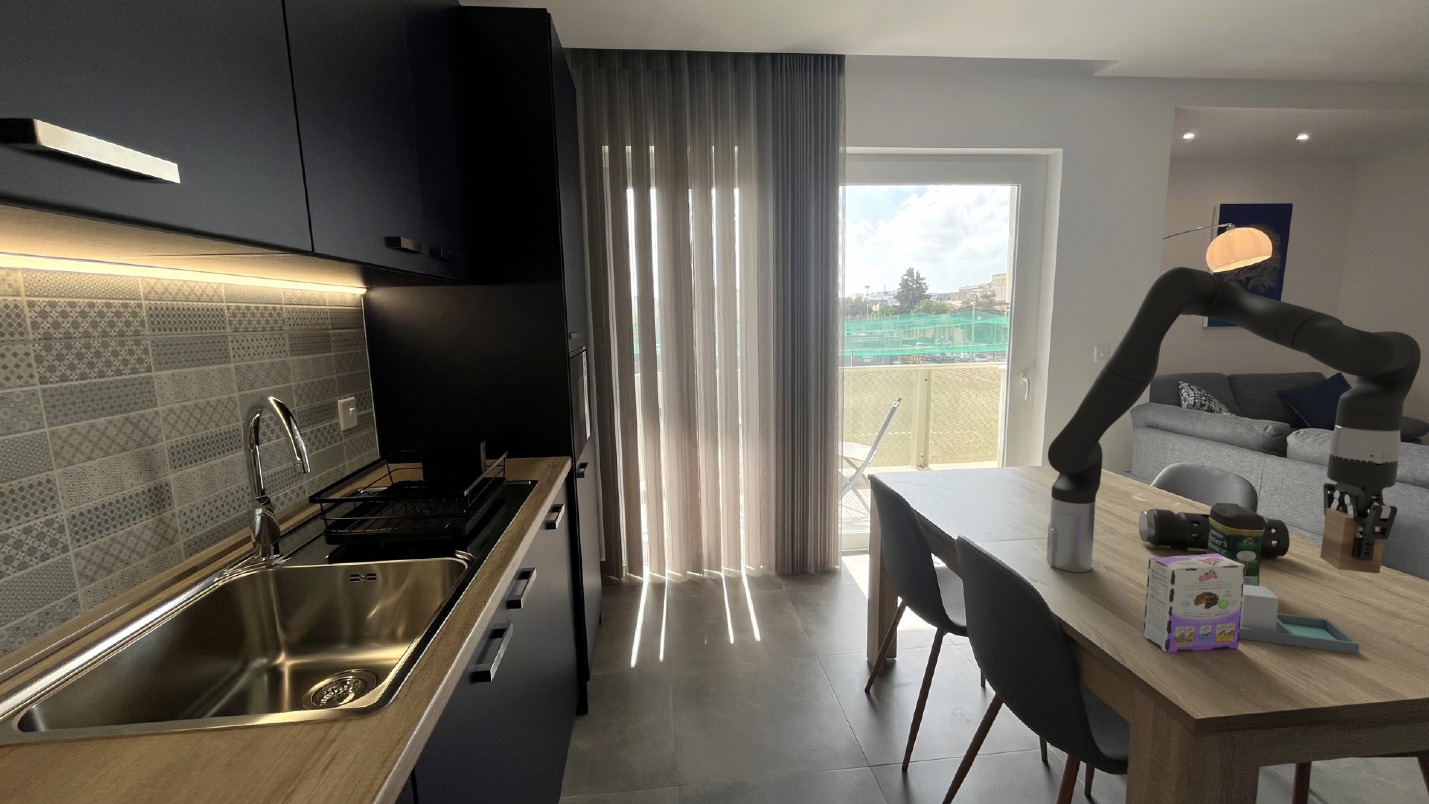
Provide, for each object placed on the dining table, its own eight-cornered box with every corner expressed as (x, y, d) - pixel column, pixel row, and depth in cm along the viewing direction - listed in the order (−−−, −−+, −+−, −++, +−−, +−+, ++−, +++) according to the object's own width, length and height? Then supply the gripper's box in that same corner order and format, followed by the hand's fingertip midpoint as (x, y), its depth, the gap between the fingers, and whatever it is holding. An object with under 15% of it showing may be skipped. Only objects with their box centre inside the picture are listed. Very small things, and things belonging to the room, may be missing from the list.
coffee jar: (1197, 575, 135) (1203, 499, 132) (1237, 577, 133) (1244, 500, 130) (1222, 594, 125) (1229, 513, 123) (1265, 597, 124) (1274, 514, 121)
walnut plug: (1338, 569, 95) (1345, 517, 94) (1320, 557, 99) (1326, 507, 98) (1379, 573, 93) (1386, 520, 92) (1358, 561, 98) (1365, 510, 96)
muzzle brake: (1288, 567, 138) (1292, 526, 136) (1146, 552, 148) (1149, 514, 147) (1268, 552, 146) (1272, 513, 145) (1136, 539, 157) (1139, 503, 156)
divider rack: (1232, 637, 109) (1236, 598, 108) (1211, 614, 117) (1215, 577, 116) (1358, 654, 102) (1363, 612, 101) (1326, 628, 111) (1331, 589, 110)
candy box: (1210, 632, 111) (1218, 552, 109) (1239, 649, 105) (1247, 565, 103) (1141, 636, 110) (1147, 555, 108) (1166, 653, 105) (1173, 568, 102)
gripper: (1307, 444, 101) (1297, 535, 104) (1361, 463, 88) (1348, 567, 91) (1364, 446, 99) (1352, 540, 101) (1429, 466, 85) (1413, 574, 88)
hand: (1350, 552), depth 96 cm, fingers closed on walnut plug, 5 cm apart
